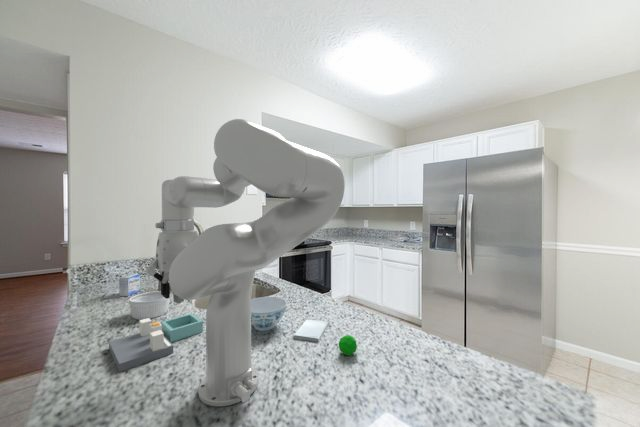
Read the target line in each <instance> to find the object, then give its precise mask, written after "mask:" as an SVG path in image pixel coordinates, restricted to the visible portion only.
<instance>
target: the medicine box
mask: <svg viewBox="0 0 640 427" xmlns="http://www.w3.org/2000/svg"><path fill="white" fill-rule="evenodd" d="M118 281H119V282H118V286H119V287H118V290H119V295H118V296H119V297H130V296H133V295H134V294H135V295H136V294H137V293H139V292H141V274H140V273H132V274H128V275H125V276H122V277H118Z"/></svg>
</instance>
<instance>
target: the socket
mask: <svg viewBox="0 0 640 427" xmlns="http://www.w3.org/2000/svg"><path fill="white" fill-rule="evenodd" d="M203 322H204V320H201V319H200V318H199V317H198V316H197V315H195V314H193V313H189V314H184V315H182V316H177V317H173V318H170V319H167V320H166V319H165V320H162V321H160V324H161V325H162V332H163V333H164V336H165V337H166V338H167V339H168V340H169V341H170V342H171V343H174V342H176V341H180V340H183V339H186V338H189V337H192V336H195V335H198V334H202V333H203V332H204V331H203V330H204V327H203V326H204V323H203Z"/></svg>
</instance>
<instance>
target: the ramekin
mask: <svg viewBox="0 0 640 427" xmlns="http://www.w3.org/2000/svg"><path fill="white" fill-rule="evenodd" d="M169 303H170V298H168V299H166V298H165V297H163V295H161V290H160V291H158V290H157V291H156V290H155V291H148V292H143V293H140V294H135V295H134V296H133V295H132V296H131V297H130V298H129V299H128V304H129V309H130V316H131V317H132V318H133V319H135V320H143V319H147V318H150V320H151V319H155V318H157V317H158V316H159V317H161V316H163V315H165V314H166V313H167V311H168V310H169ZM165 312H166V313H165ZM164 313H165V314H164ZM159 317H158V318H159Z"/></svg>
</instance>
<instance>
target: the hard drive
mask: <svg viewBox="0 0 640 427" xmlns="http://www.w3.org/2000/svg"><path fill="white" fill-rule="evenodd" d="M328 327H329V322H328V321H323V320H316V319H315V320H314V319H305V321H304V322H303V323H302V324H301V326H300V327H299V328H298V330H297V331H296V332H295V333H294V335H293V339H294V340H302V341H308V342H315V343H319V342H320V341H321V338H322V337H323V335H324V333H325V332H326V330H327V328H328Z"/></svg>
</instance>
